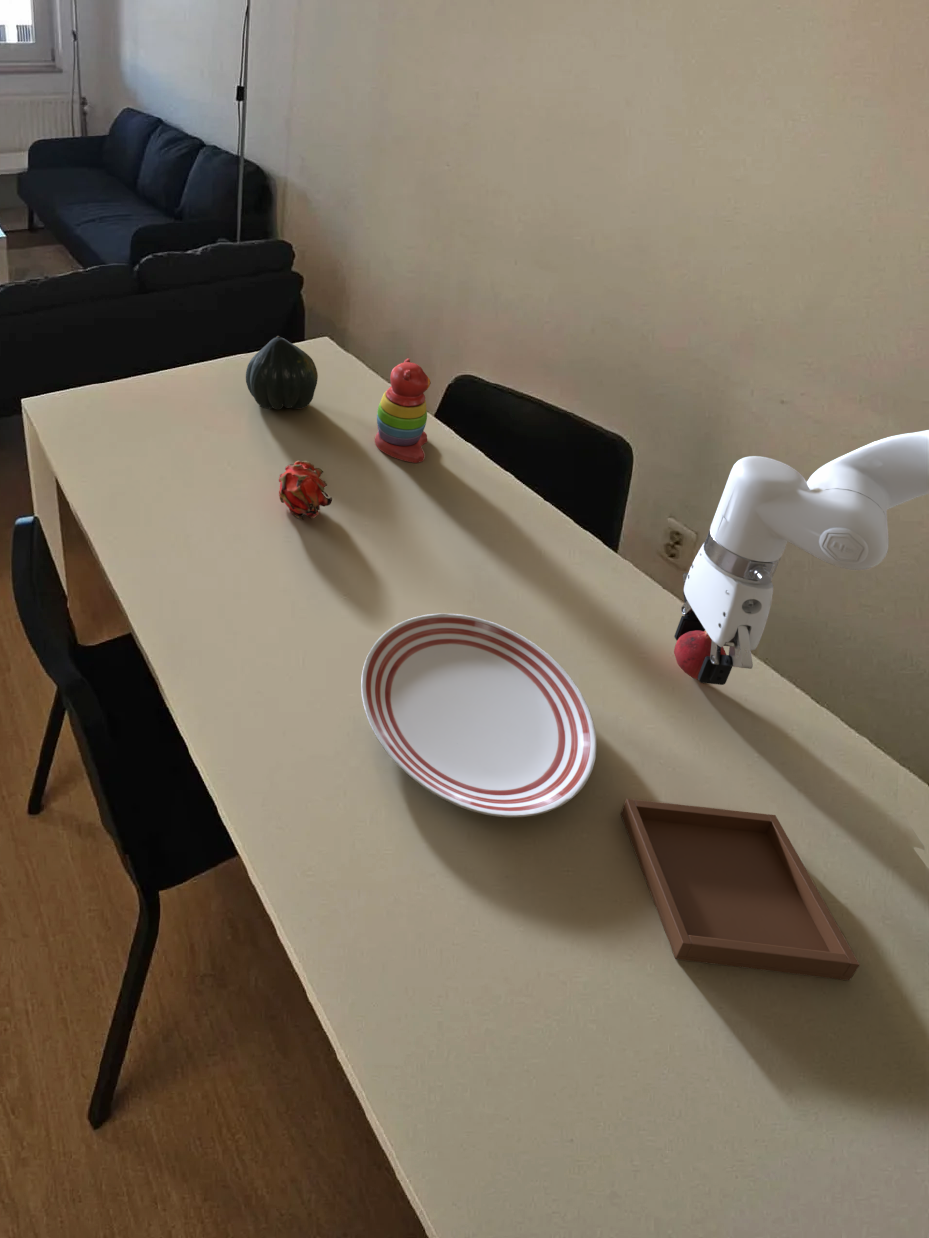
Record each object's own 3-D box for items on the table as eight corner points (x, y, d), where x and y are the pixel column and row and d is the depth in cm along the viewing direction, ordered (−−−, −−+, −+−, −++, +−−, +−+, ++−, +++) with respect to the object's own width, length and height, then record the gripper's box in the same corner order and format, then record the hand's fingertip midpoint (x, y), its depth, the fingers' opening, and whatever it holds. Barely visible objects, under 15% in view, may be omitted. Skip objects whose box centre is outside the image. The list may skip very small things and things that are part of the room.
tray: (767, 830, 82) (775, 814, 81) (849, 980, 70) (860, 964, 69) (620, 813, 83) (626, 798, 82) (675, 959, 71) (683, 943, 70)
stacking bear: (423, 465, 143) (437, 382, 135) (369, 454, 145) (380, 372, 138) (427, 436, 152) (441, 357, 145) (377, 426, 155) (388, 348, 148)
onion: (674, 688, 99) (692, 643, 96) (662, 653, 104) (678, 609, 101) (723, 699, 98) (743, 653, 94) (709, 663, 103) (727, 619, 100)
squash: (309, 408, 150) (318, 335, 154) (235, 399, 153) (247, 328, 157) (314, 421, 163) (323, 354, 167) (246, 413, 166) (256, 347, 170)
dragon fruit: (294, 490, 137) (312, 542, 127) (259, 472, 133) (275, 525, 123) (326, 459, 134) (347, 510, 124) (291, 440, 130) (310, 491, 120)
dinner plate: (540, 890, 76) (547, 869, 75) (316, 723, 92) (318, 704, 91) (620, 711, 95) (626, 692, 94) (423, 599, 111) (426, 582, 110)
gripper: (816, 609, 84) (764, 722, 92) (735, 510, 100) (696, 613, 107) (746, 602, 85) (699, 715, 92) (677, 505, 101) (642, 608, 108)
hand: (698, 659), depth 100 cm, fingers closed on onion, 5 cm apart
